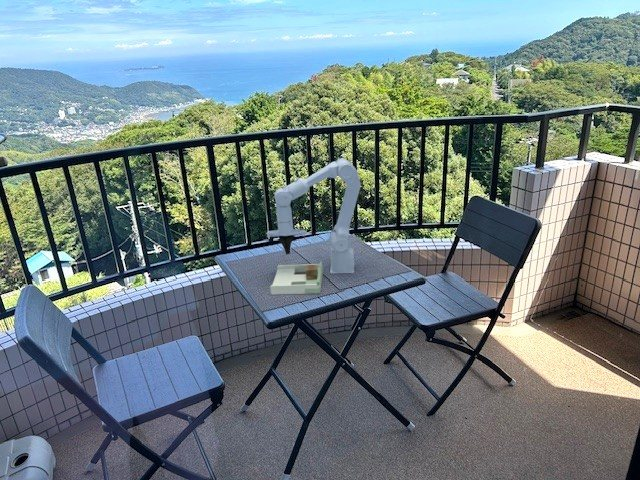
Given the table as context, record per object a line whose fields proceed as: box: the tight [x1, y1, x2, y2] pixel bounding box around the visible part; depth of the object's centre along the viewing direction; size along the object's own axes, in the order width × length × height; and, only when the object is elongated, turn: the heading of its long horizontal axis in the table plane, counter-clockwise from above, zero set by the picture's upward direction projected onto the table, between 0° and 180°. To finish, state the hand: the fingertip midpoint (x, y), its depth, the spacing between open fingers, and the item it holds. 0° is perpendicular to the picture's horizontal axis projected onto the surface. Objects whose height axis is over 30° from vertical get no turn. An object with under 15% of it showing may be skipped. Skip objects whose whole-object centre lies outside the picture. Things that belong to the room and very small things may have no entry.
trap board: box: [269, 261, 324, 296], centre depth 168 cm, size 18×18×4 cm
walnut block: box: [305, 265, 318, 280], centre depth 167 cm, size 4×4×4 cm
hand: (288, 253), depth 172 cm, fingers closed
